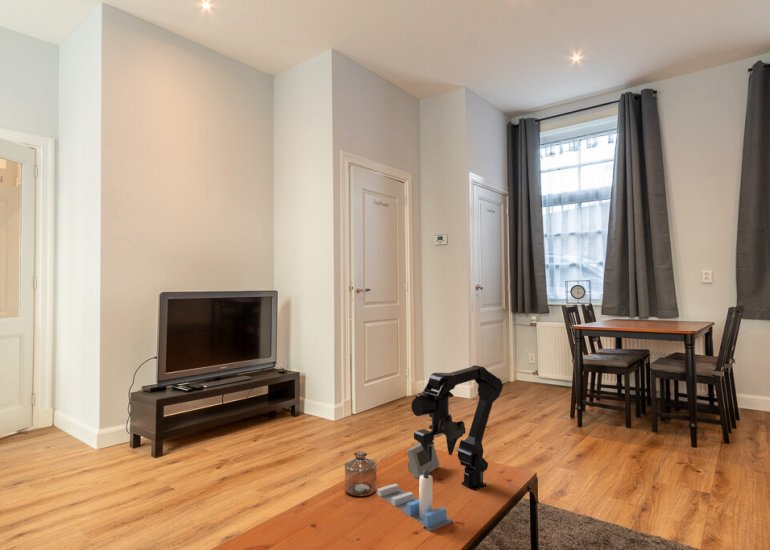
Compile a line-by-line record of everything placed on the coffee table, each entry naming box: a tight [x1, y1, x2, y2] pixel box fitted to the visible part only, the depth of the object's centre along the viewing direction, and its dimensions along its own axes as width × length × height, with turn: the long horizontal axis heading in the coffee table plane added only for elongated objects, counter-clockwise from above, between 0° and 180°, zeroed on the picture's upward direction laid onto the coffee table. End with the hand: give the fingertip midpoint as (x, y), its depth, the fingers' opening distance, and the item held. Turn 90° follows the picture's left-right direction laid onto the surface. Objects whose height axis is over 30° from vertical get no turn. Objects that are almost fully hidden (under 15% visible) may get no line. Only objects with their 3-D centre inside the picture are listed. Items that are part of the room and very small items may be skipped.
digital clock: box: [406, 442, 440, 479], centre depth 179 cm, size 16×9×11 cm, turn 131°
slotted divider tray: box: [375, 483, 454, 533], centre depth 150 cm, size 9×28×4 cm, turn 35°
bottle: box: [418, 470, 434, 520], centre depth 143 cm, size 4×4×14 cm
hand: (440, 457), depth 158 cm, fingers open, 9 cm apart
